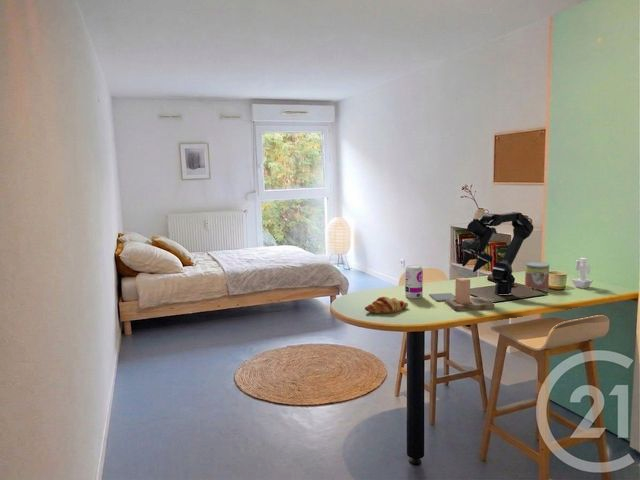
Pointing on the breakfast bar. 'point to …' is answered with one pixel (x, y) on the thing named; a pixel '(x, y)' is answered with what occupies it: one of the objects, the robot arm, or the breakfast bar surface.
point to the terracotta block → (462, 291)
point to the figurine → (582, 274)
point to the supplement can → (413, 281)
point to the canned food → (537, 275)
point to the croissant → (386, 305)
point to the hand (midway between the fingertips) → (468, 269)
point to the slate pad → (442, 296)
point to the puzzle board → (474, 304)
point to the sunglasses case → (490, 277)
